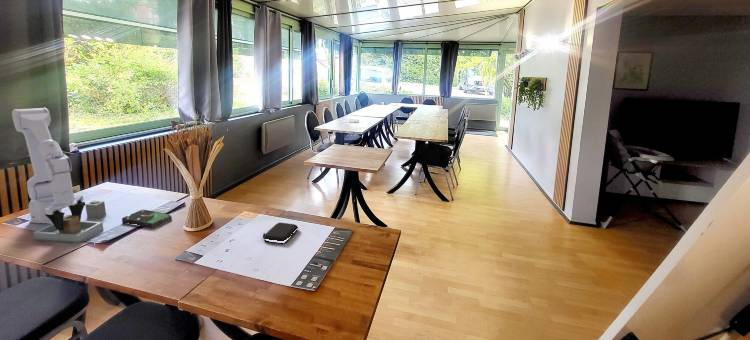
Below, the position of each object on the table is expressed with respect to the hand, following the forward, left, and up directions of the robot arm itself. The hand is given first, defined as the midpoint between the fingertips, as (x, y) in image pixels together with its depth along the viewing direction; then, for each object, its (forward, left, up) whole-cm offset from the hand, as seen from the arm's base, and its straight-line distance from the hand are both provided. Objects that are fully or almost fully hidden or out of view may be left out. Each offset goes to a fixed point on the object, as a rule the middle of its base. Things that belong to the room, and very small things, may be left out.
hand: (68, 225), depth 141 cm
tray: (0, 0, -4) cm, 4 cm away
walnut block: (0, 0, -3) cm, 3 cm away
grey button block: (-3, +17, -4) cm, 18 cm away
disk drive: (+19, +16, -4) cm, 25 cm away
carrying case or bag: (+75, +12, -4) cm, 76 cm away
